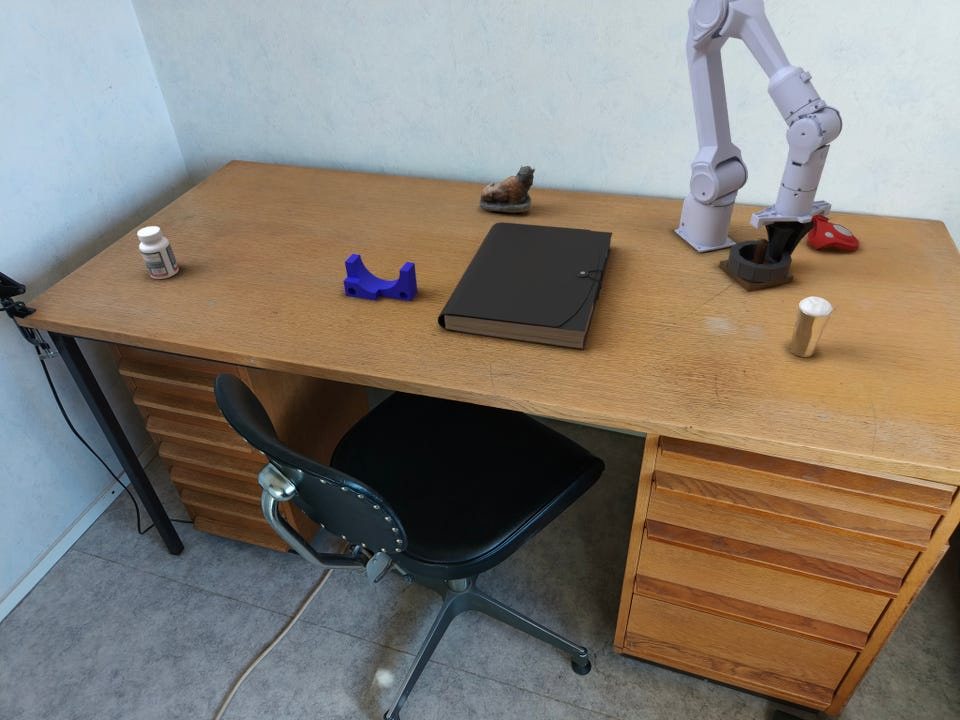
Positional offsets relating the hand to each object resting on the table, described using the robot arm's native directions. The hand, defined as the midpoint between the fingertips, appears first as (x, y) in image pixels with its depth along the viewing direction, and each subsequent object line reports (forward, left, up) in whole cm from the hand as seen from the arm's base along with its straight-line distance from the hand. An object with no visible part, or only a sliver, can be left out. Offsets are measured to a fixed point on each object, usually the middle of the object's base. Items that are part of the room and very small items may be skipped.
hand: (778, 256), depth 118 cm
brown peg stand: (0, -4, -3) cm, 5 cm away
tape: (0, -4, -1) cm, 4 cm away
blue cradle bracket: (-17, -69, -3) cm, 71 cm away
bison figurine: (-41, -37, -3) cm, 56 cm away
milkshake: (+22, -11, -3) cm, 25 cm away
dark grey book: (-10, -43, -3) cm, 45 cm away
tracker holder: (-6, +17, -3) cm, 18 cm away
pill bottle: (-39, -107, -3) cm, 114 cm away
